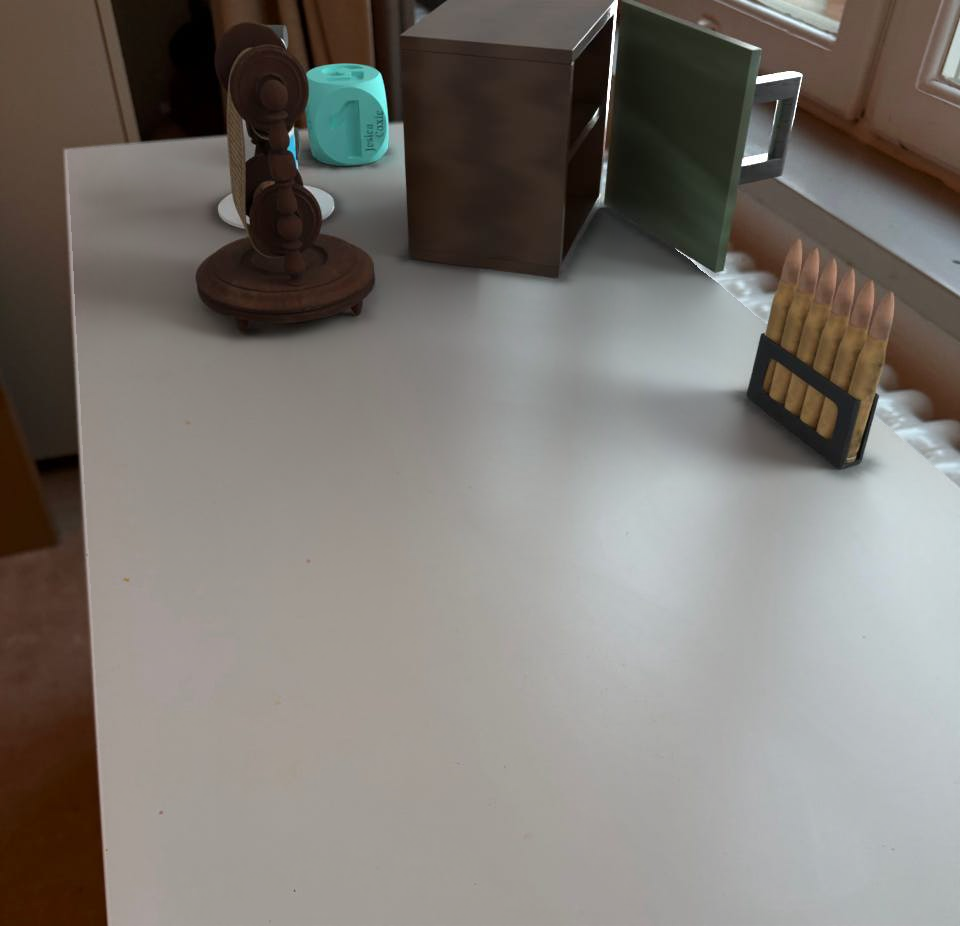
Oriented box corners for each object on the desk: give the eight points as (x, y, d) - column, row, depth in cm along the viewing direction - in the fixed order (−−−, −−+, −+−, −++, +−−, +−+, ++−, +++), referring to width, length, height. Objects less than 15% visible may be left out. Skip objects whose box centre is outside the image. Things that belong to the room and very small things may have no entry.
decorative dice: (316, 169, 110) (308, 87, 104) (308, 144, 116) (300, 65, 110) (390, 163, 111) (386, 82, 106) (379, 139, 117) (374, 61, 111)
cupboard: (600, 204, 103) (617, -3, 91) (558, 278, 91) (572, 50, 78) (466, 188, 106) (466, -15, 94) (408, 258, 94) (399, 35, 81)
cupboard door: (667, 191, 106) (692, -9, 94) (783, 256, 94) (829, 38, 82) (603, 204, 103) (621, 0, 91) (714, 273, 92) (752, 50, 79)
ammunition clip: (745, 395, 77) (778, 235, 68) (765, 390, 77) (800, 230, 69) (840, 469, 70) (890, 300, 61) (862, 463, 70) (914, 295, 62)
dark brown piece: (189, 275, 91) (139, 16, 77) (352, 253, 94) (332, 2, 81) (215, 352, 81) (163, 70, 67) (397, 324, 84) (382, 51, 71)
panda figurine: (324, 235, 97) (306, 58, 87) (205, 232, 98) (173, 56, 87) (341, 188, 106) (327, 22, 96) (232, 185, 106) (206, 20, 96)
